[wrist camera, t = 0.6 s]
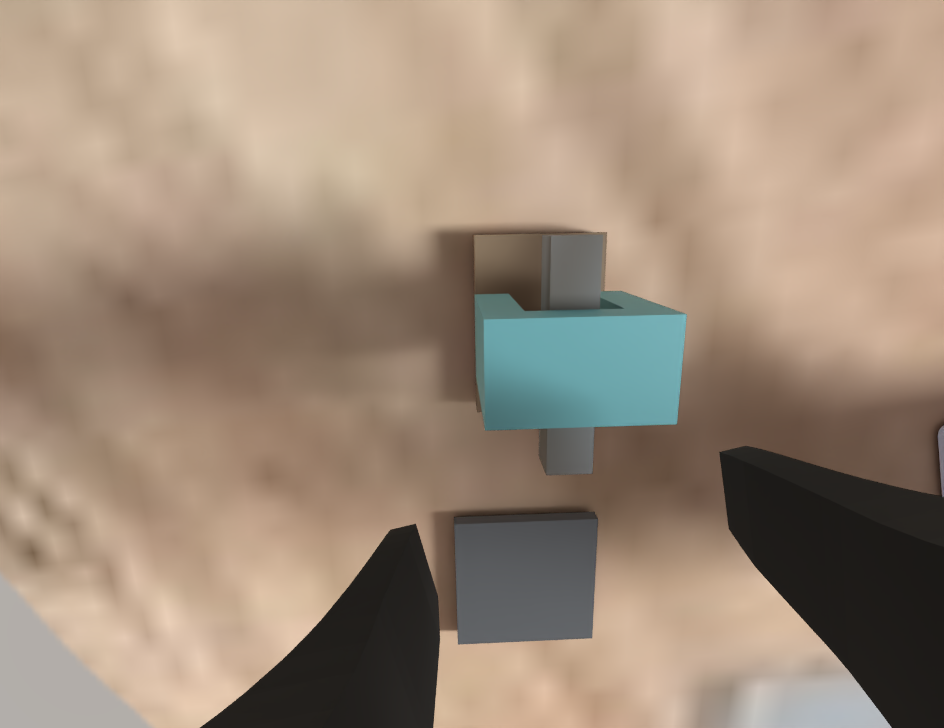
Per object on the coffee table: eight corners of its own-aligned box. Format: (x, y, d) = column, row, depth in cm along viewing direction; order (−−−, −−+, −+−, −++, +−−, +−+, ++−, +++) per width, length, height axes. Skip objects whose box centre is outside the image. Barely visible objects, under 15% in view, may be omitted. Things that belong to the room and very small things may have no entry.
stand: (599, 232, 20) (669, 233, 14) (592, 400, 22) (651, 471, 15) (473, 234, 20) (483, 237, 14) (476, 404, 22) (486, 477, 15)
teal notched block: (621, 290, 18) (686, 314, 13) (616, 372, 19) (677, 424, 14) (474, 294, 18) (483, 319, 13) (476, 376, 19) (485, 430, 14)
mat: (594, 511, 23) (597, 518, 23) (588, 628, 25) (592, 638, 24) (454, 516, 23) (454, 524, 23) (457, 634, 25) (458, 644, 24)
